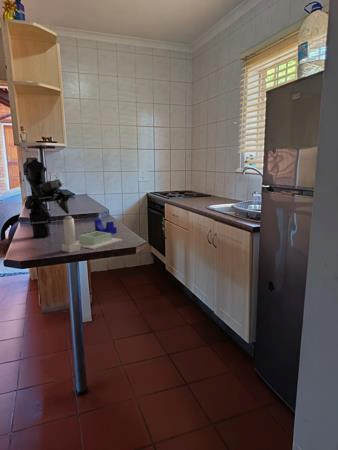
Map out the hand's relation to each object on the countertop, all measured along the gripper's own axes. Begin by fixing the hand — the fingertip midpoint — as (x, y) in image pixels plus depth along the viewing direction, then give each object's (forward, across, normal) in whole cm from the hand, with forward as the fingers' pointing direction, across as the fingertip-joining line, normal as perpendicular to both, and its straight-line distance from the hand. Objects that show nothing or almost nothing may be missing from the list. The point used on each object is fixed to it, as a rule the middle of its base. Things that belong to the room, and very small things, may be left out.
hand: (58, 215), depth 124 cm
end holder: (+15, +12, +4) cm, 19 cm away
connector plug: (+15, -2, +4) cm, 15 cm away
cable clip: (+7, +29, +13) cm, 32 cm away
